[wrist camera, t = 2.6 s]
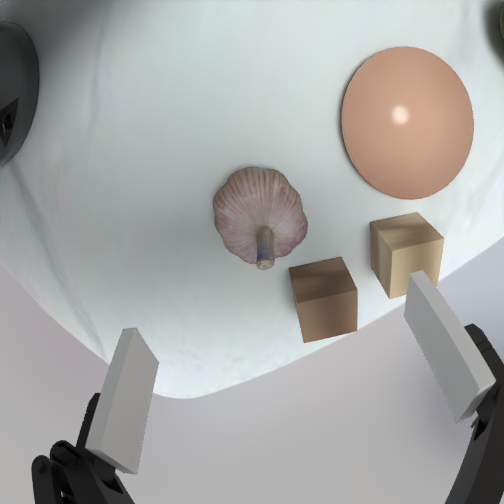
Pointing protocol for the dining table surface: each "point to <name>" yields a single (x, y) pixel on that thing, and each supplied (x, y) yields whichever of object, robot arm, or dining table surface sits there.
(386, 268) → the oak block
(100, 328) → the dining table surface
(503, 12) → the fruit
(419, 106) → the peach ellipsoid
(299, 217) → the garlic bulb
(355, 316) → the walnut block
